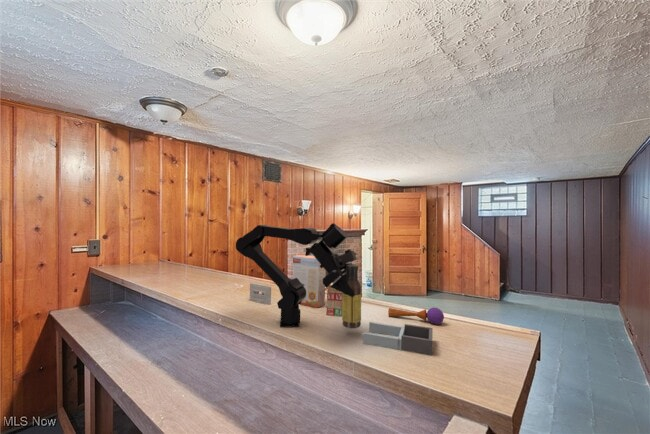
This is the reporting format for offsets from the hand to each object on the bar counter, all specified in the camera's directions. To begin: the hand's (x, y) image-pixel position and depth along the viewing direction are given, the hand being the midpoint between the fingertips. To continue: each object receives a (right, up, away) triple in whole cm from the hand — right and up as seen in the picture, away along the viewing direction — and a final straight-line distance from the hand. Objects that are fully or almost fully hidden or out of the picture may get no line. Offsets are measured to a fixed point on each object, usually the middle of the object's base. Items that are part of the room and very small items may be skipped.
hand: (356, 293), depth 97 cm
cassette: (-39, -13, +33) cm, 53 cm away
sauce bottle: (-2, -11, 0) cm, 11 cm away
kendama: (+24, -15, +16) cm, 32 cm away
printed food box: (-5, -14, +29) cm, 32 cm away
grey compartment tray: (+13, -14, -5) cm, 19 cm away
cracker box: (-18, -13, +33) cm, 40 cm away
